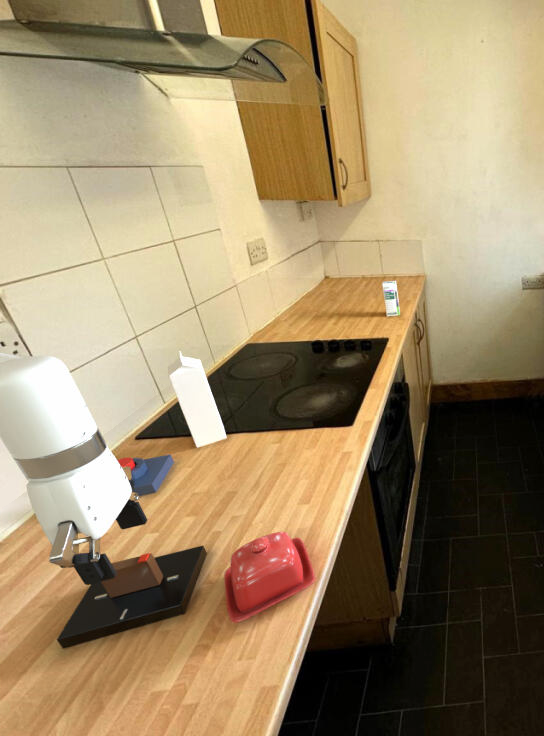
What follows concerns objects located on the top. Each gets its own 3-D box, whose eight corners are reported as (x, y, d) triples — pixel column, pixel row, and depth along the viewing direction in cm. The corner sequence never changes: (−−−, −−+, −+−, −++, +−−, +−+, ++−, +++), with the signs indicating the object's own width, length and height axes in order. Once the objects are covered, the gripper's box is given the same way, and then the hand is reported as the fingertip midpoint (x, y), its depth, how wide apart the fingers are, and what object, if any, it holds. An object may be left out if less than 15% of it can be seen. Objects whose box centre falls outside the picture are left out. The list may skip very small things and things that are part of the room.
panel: (62, 649, 56) (55, 639, 55) (104, 579, 65) (98, 570, 65) (185, 614, 60) (180, 604, 59) (207, 553, 70) (203, 544, 69)
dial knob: (110, 598, 60) (95, 573, 58) (115, 588, 62) (101, 564, 60) (159, 585, 62) (146, 560, 60) (163, 576, 64) (151, 551, 61)
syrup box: (386, 316, 180) (381, 284, 174) (386, 312, 185) (382, 280, 179) (400, 315, 181) (395, 283, 175) (400, 311, 187) (396, 279, 181)
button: (108, 477, 82) (105, 470, 81) (117, 466, 85) (114, 459, 84) (130, 473, 83) (127, 466, 82) (138, 462, 86) (135, 455, 86)
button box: (80, 508, 79) (71, 492, 78) (107, 475, 88) (99, 460, 86) (156, 492, 83) (148, 476, 81) (174, 462, 92) (168, 447, 90)
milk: (196, 448, 96) (162, 363, 87) (195, 436, 101) (161, 353, 92) (227, 438, 100) (197, 355, 91) (224, 427, 104) (195, 346, 95)
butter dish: (302, 539, 72) (291, 501, 69) (319, 588, 64) (307, 548, 60) (225, 574, 66) (208, 535, 63) (232, 634, 58) (213, 592, 54)
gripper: (66, 423, 58) (116, 514, 65) (-31, 509, 43) (47, 616, 50) (131, 412, 61) (173, 502, 68) (60, 491, 46) (123, 595, 53)
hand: (119, 550), depth 59 cm, fingers open, 9 cm apart
